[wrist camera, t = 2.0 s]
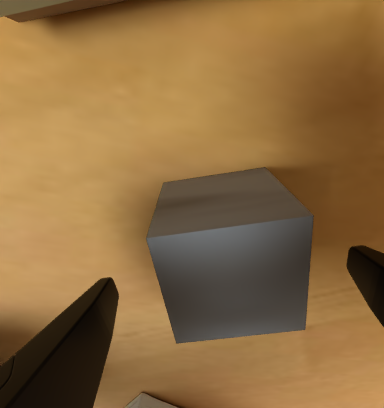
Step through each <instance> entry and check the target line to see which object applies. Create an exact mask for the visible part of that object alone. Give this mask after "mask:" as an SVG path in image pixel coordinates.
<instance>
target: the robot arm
mask: <svg viewBox="0 0 384 408" xmlns="http://www.w3.org/2000/svg"><path fill="white" fill-rule="evenodd" d="M347 269H348V271H349V273H350V275H351V277H352V278H353V280H354V282H355V283H356V285H357V287H358V289H359V290H360V292H361V294H362V295H363V297H364V299H365V301H366V302H367V304H368V306H369V307H370V309H371V310H372V312H373V313H374V315H375V316H376V317H377V319H378V320H379V322H380V323H381V324H382V326H383V327H384V253H381V252H379V251H376V250H374V249H371V248H369V247H366V246H363V245H359V246H352V247H350V249H349V252H348V259H347ZM118 299H119V294H118V290H117V288H116V285H115V283H114V280H113V279H112V278H111V277H107V278H101V279H100V280H98V281H97V282H96V283H95V284H94V285H93V286H92V287H91V288H89V289H88V290H87V291H86V292H85V293H84V294H83V295H81V296H80V297H79V298H78V299H77V300H76V301H75V302H73V303H72V304H71V305H70V306H69V307H68V308H67V309H66V310H64V311H63V312H62V313H61V314H60V315H59V316H58V317H56V318H55V319H54V320H53V321H52V322H51V323H50V324H48V325H47V326H46V327H45V328H44V329H43V330H42V331H41V332H39V333H38V334H37V335H36V336H35V337H34V338H33V339H31V340H30V341H29V342H28V343H27V344H26V345H25V346H23V347H22V348H21V349H20V350H19V351H18V352H17V353H16V354H15V356H12V357H11V358H10V359H9V360H7V361H6V362H5V363H4V364H3V365H2V366H1V367H0V408H93V405H94V402H95V398H96V394H97V391H98V387H99V384H100V380H101V376H102V373H103V369H104V365H105V362H106V358H107V354H108V351H109V347H110V343H111V339H112V335H113V329H114V323H115V317H116V311H117V305H118Z"/></svg>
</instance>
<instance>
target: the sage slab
mask: <svg viewBox="0 0 384 408" xmlns="http://www.w3.org/2000/svg"><path fill="white" fill-rule="evenodd" d="M68 1H73V0H0V17H3V16H7V15H11V14H16V13H20V12H25V11H29V10H33V9H38V8H42V7H47V6H51V5H55V4H60V3H64V2H68Z"/></svg>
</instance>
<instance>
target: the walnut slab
mask: <svg viewBox="0 0 384 408" xmlns="http://www.w3.org/2000/svg"><path fill="white" fill-rule="evenodd" d="M121 1H126V0H73V1H68V2H64V3H60V4H55V5H51V6H47V7H42V8H38V9H33V10H29V11H25V12H20V13H16V14H11V15H7V16H5V17H7V18H10V19H12V20H14V21H17V22H24V21H28V20H33V19H38V18H43V17H48V16H53V15H58V14H63V13H67V12H72V11H77V10H82V9H87V8H92V7H97V6H102V5H106V4H111V3H116V2H121Z"/></svg>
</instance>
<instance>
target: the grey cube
mask: <svg viewBox="0 0 384 408" xmlns="http://www.w3.org/2000/svg"><path fill="white" fill-rule="evenodd" d="M313 217H314V215H313V214H312V213H311V212H310V211H309V210H308V209H307V208H306V207H305V206H304V205H303V204H302V203H301V202H300V201H299V200H298V199H297V198H296V197H295V196H294V195H293V194H292V193H291V192H290V191H289V190H288V189H287V188H286V187H285V186H284V185H283V184H282V183H281V182H280V181H279V180H278V179H277V178H276V177H275V176H274V175H273V174H272V173H271V172H269V171H268V170H267V169H266V168H265V167H263V168H257V169H250V170H244V171H237V172H230V173H224V174H217V175H211V176H204V177H197V178H191V179H184V180H178V181H171V182H164V183H163V185H162V189H161V192H160V195H159V198H158V202H157V205H156V208H155V211H154V215H153V218H152V221H151V224H150V227H149V231H148V234H147V237H146V240H147V243H148V247H149V250H150V254H151V257H152V261H153V264H154V268H155V271H156V274H157V278H158V281H159V285H160V288H161V292H162V295H163V299H164V302H165V306H166V309H167V313H168V316H169V320H170V323H171V327H172V330H173V333H174V337H175V340H176V344H177V343H186V342H196V341H205V340H214V339H224V338H233V337H242V336H252V335H261V334H270V333H280V332H289V331H298V330H305V327H306V313H307V299H308V286H309V272H310V258H311V244H312V230H313Z"/></svg>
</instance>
